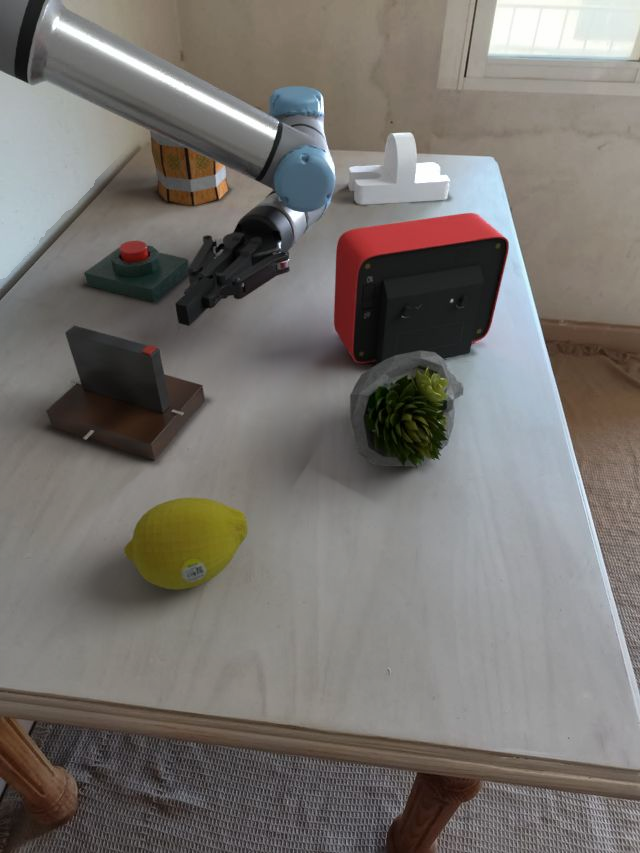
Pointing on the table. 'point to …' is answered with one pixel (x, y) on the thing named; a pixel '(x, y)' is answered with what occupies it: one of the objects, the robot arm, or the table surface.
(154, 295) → the button block
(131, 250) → the button
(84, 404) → the dial panel
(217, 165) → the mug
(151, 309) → the table surface
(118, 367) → the dark grey slab
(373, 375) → the potted plant
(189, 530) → the lemon
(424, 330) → the alarm clock
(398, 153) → the white caddy with handle
